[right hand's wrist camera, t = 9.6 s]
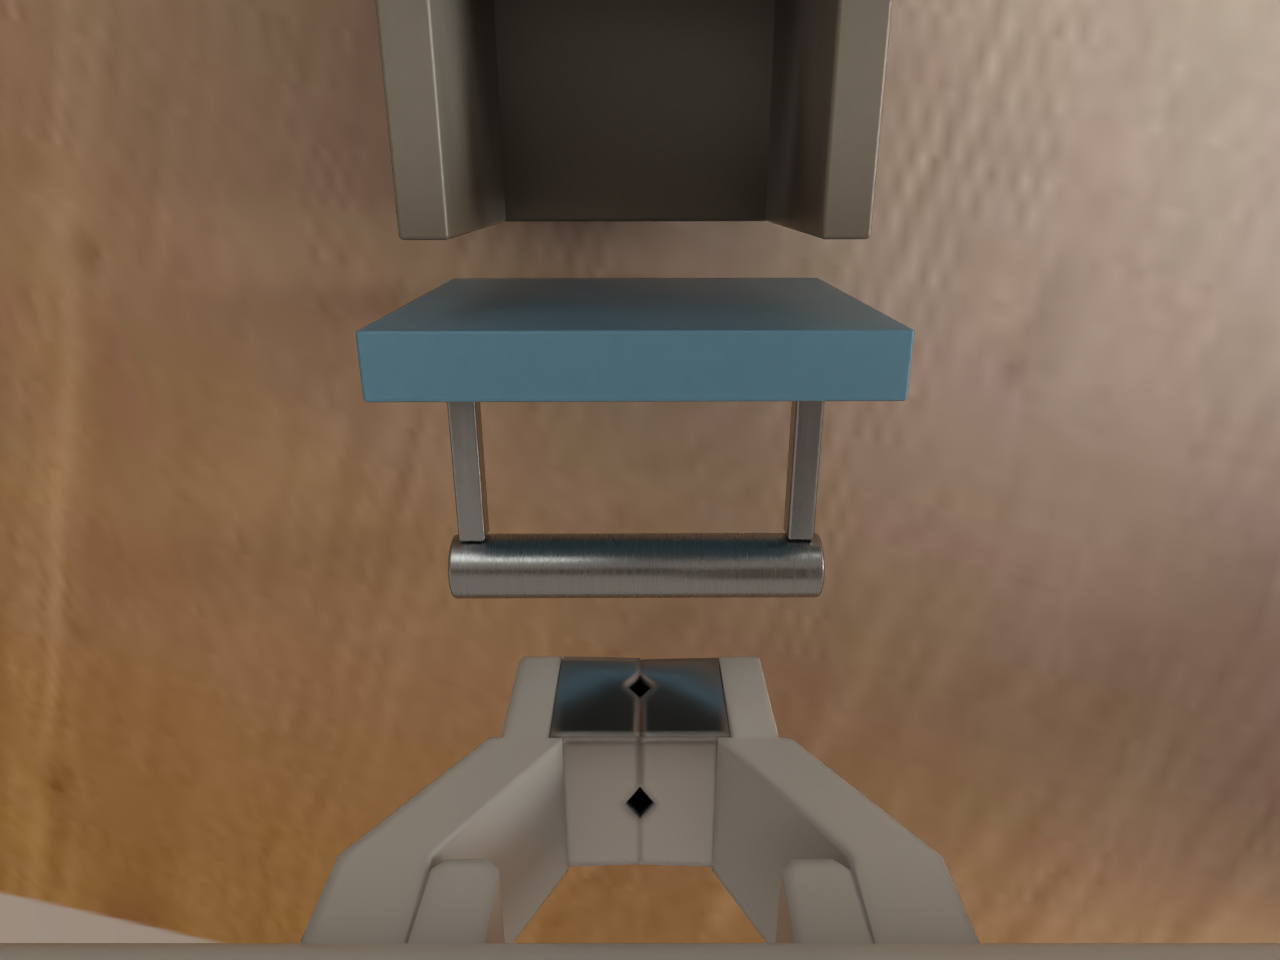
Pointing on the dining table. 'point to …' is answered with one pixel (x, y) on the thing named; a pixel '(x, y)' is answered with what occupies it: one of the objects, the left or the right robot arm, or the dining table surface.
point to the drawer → (634, 191)
